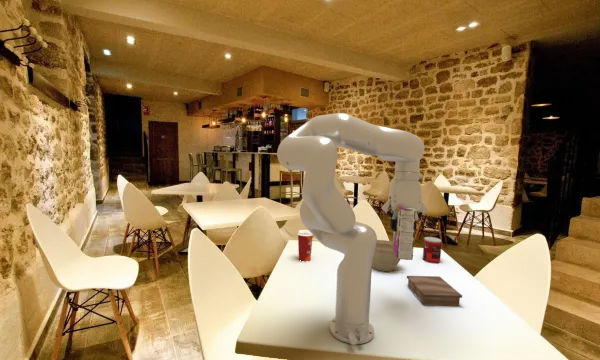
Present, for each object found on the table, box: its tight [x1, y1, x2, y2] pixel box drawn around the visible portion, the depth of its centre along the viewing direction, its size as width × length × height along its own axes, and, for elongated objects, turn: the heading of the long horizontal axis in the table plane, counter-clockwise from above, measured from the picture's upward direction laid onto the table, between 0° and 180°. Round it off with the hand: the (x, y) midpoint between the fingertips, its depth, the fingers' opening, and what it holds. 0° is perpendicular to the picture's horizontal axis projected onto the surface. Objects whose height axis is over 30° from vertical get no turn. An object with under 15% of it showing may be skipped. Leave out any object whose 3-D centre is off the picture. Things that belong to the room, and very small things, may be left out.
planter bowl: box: [372, 239, 401, 272], centre depth 134 cm, size 16×16×11 cm
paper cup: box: [297, 229, 314, 262], centre depth 142 cm, size 8×8×14 cm
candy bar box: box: [392, 207, 416, 261], centre depth 98 cm, size 11×5×16 cm, turn 171°
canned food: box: [422, 236, 442, 264], centre depth 145 cm, size 8×8×11 cm
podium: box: [406, 275, 463, 307], centre depth 108 cm, size 16×13×4 cm
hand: (403, 230), depth 99 cm, fingers closed on candy bar box, 5 cm apart
